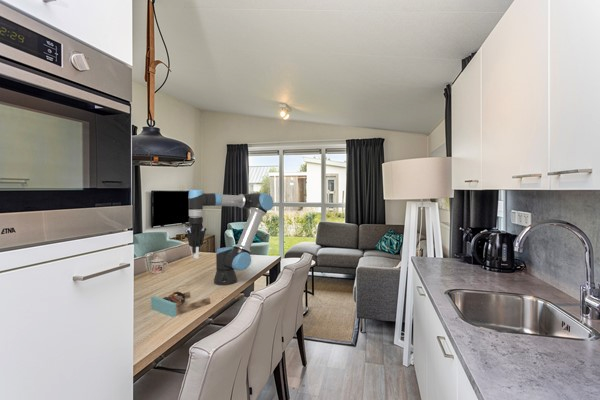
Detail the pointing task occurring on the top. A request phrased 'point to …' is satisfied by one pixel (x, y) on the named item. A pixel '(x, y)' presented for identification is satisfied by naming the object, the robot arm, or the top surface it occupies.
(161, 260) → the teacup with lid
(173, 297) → the pottery mug
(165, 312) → the end stop
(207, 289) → the top surface
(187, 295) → the channel
